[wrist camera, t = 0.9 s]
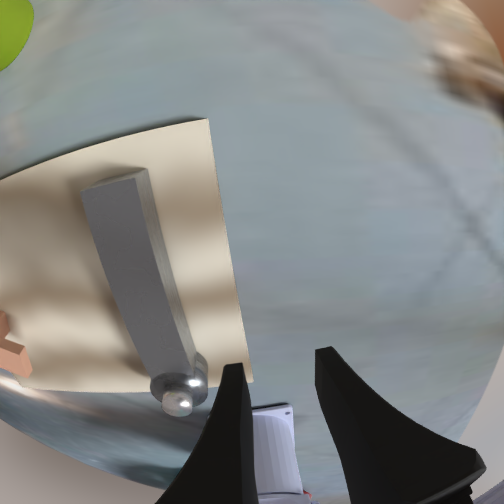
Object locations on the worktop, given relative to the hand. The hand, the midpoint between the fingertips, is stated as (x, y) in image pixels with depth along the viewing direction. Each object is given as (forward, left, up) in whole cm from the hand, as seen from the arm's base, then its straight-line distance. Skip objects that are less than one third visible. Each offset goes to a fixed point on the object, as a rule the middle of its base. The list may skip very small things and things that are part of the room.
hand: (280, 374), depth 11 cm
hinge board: (0, +14, -9) cm, 16 cm away
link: (-1, +7, -8) cm, 11 cm away
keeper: (-2, +20, -8) cm, 22 cm away
